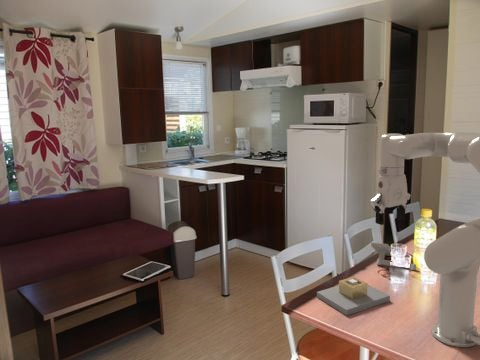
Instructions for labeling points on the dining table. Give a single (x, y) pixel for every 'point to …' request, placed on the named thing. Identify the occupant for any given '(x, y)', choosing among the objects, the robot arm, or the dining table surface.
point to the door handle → (385, 254)
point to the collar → (353, 288)
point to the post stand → (349, 305)
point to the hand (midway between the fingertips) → (390, 221)
